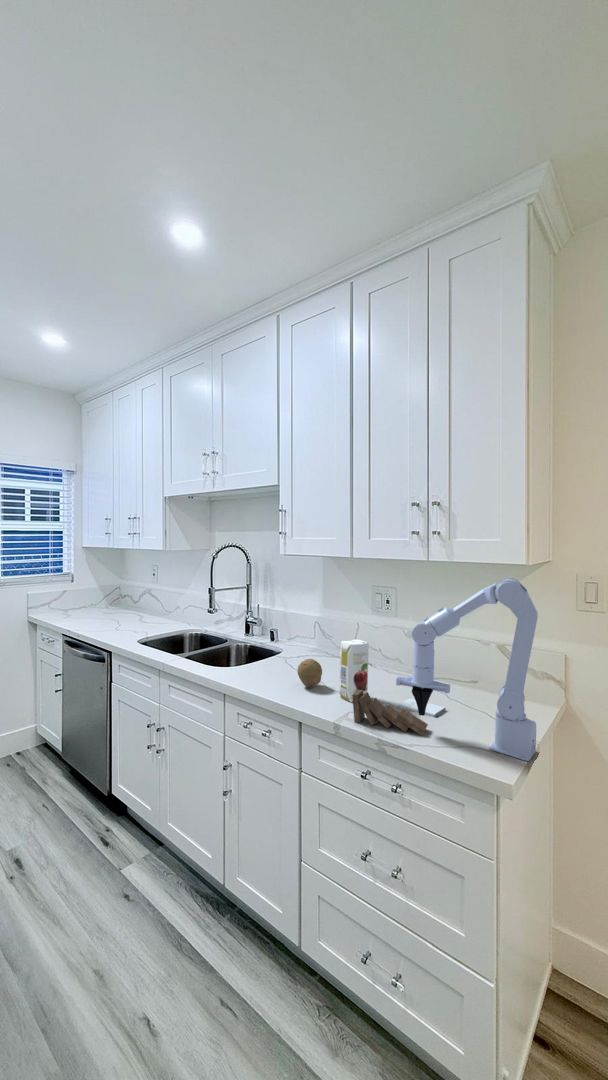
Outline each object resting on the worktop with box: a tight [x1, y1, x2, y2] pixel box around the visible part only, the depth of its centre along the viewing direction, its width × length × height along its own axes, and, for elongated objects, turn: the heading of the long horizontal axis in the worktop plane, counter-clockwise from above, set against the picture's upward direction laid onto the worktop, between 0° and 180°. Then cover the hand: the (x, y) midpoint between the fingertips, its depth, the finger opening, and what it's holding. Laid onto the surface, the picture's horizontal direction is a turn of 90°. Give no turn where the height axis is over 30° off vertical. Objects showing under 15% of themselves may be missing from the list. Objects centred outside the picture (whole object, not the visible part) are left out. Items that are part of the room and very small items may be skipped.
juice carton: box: [339, 639, 370, 703], centre depth 156 cm, size 8×9×19 cm
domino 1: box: [352, 690, 366, 724], centre depth 138 cm, size 2×5×8 cm, turn 156°
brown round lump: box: [297, 658, 323, 689], centre depth 167 cm, size 9×9×10 cm
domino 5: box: [396, 708, 429, 736], centre depth 132 cm, size 2×5×8 cm
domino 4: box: [381, 703, 409, 733], centre depth 134 cm, size 2×5×8 cm
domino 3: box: [368, 697, 393, 729], centre depth 135 cm, size 2×5×8 cm
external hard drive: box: [397, 697, 447, 718], centre depth 149 cm, size 2×8×12 cm
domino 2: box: [358, 691, 380, 726], centre depth 137 cm, size 2×5×8 cm, turn 155°
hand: (421, 714), depth 130 cm, fingers closed
